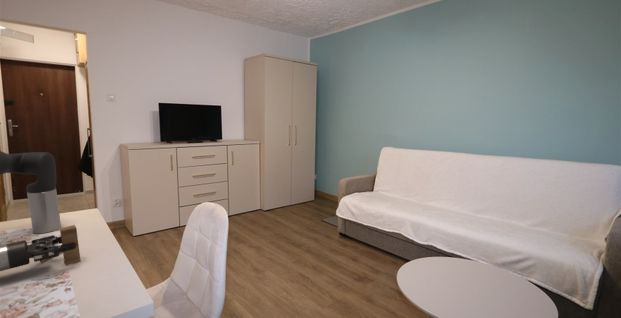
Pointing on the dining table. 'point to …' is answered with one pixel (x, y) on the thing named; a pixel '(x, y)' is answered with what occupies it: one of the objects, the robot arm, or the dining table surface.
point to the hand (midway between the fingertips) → (73, 241)
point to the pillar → (68, 237)
